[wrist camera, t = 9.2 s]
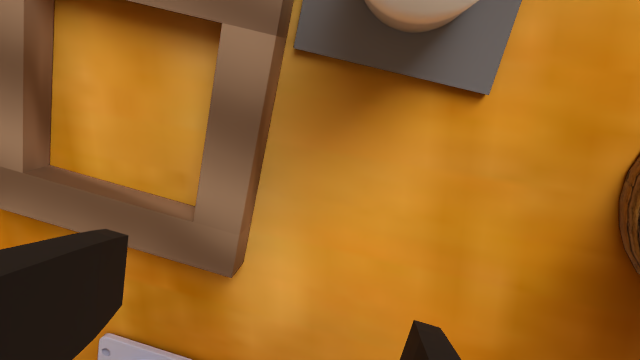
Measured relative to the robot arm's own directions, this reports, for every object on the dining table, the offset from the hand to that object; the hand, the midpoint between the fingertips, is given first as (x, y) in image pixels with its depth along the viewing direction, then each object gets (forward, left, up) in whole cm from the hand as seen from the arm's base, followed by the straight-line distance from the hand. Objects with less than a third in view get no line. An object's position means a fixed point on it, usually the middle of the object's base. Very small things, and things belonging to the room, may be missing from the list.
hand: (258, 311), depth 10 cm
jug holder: (+2, +10, -9) cm, 14 cm away
